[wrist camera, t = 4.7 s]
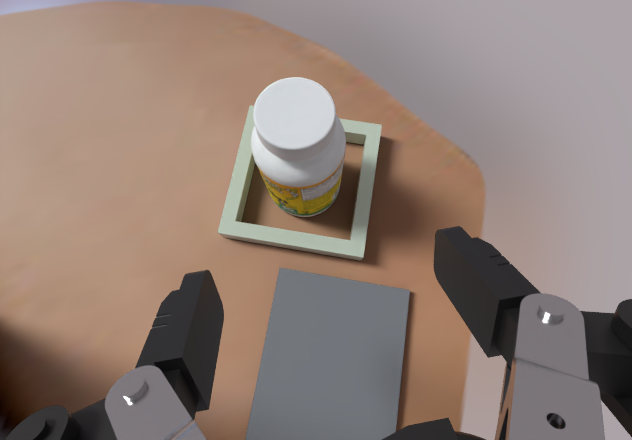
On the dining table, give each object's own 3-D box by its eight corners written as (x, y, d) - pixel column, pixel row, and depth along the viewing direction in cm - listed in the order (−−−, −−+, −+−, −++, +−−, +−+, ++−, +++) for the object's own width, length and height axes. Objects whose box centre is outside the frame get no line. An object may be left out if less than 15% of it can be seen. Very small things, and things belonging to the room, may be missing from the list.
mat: (389, 472, 20) (391, 475, 20) (245, 442, 21) (243, 445, 20) (407, 290, 23) (409, 290, 23) (280, 268, 24) (279, 267, 23)
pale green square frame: (360, 260, 24) (363, 257, 22) (223, 237, 24) (217, 232, 23) (378, 135, 26) (381, 124, 25) (253, 116, 27) (249, 105, 25)
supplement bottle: (352, 198, 25) (372, 132, 16) (288, 231, 24) (269, 184, 15) (318, 140, 26) (317, 48, 17) (256, 170, 26) (220, 92, 16)
